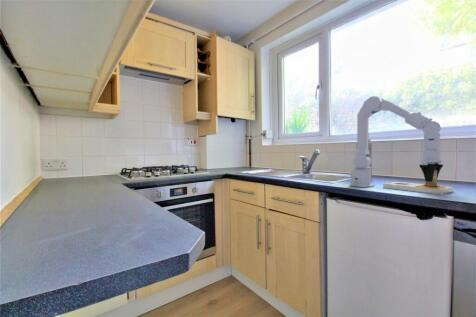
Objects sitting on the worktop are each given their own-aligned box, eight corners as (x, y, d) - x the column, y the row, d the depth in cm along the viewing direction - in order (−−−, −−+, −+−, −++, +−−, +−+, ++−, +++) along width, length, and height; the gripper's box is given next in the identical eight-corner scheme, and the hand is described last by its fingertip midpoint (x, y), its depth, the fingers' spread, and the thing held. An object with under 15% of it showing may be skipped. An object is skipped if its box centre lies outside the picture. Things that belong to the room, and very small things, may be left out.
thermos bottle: (368, 181, 133) (368, 133, 133) (354, 180, 140) (354, 133, 139) (374, 180, 138) (374, 133, 137) (360, 179, 145) (360, 134, 144)
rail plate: (441, 194, 92) (441, 188, 92) (383, 187, 111) (383, 182, 111) (452, 191, 98) (452, 186, 98) (395, 185, 117) (395, 181, 117)
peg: (434, 189, 97) (434, 170, 97) (423, 188, 100) (423, 170, 100) (438, 188, 99) (438, 170, 99) (427, 187, 102) (427, 169, 102)
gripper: (436, 149, 92) (435, 183, 92) (449, 149, 99) (449, 180, 100) (415, 149, 98) (415, 181, 98) (429, 149, 105) (429, 179, 106)
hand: (431, 181), depth 99 cm, fingers closed on peg, 4 cm apart
